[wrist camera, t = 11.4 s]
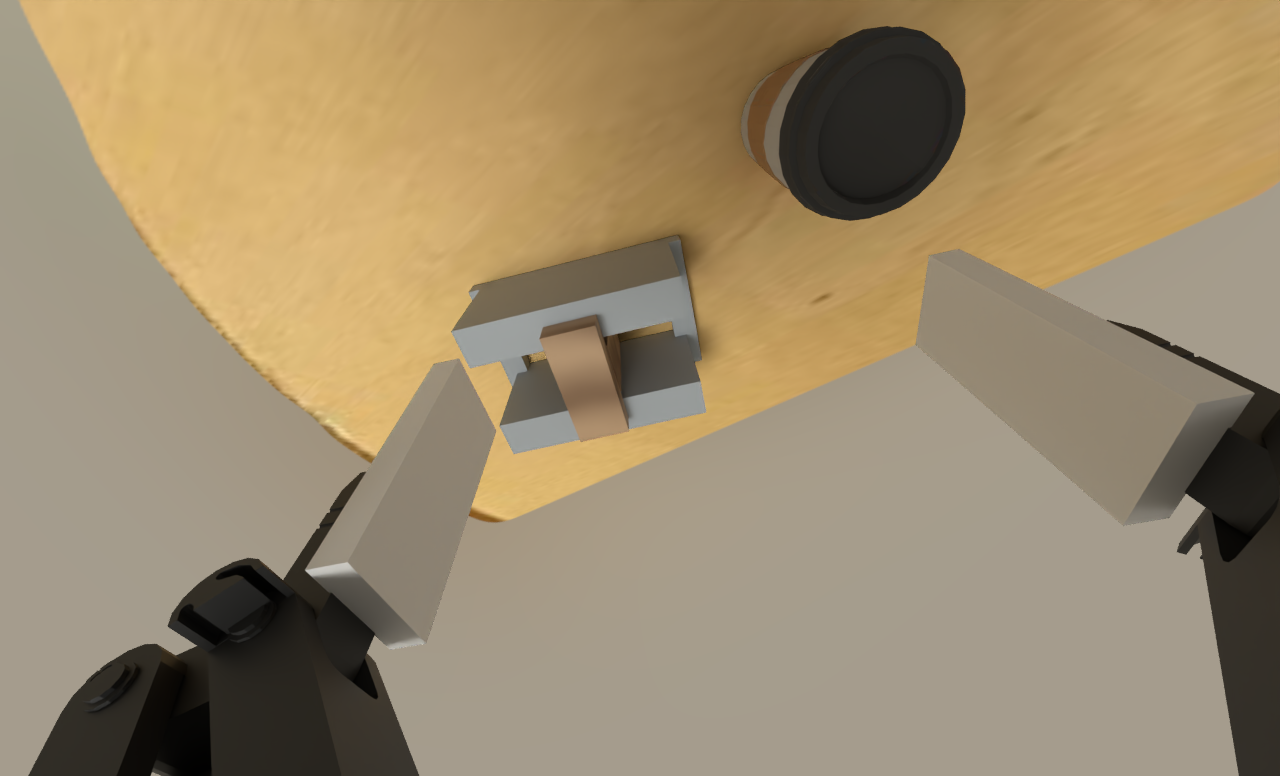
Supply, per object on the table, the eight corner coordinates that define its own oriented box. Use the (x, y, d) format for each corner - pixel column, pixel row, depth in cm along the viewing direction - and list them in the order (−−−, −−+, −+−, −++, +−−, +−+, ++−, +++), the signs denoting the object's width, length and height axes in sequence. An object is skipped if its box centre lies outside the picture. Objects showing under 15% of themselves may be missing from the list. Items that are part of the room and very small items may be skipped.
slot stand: (473, 286, 39) (437, 334, 31) (677, 234, 38) (695, 272, 30) (521, 392, 45) (502, 456, 37) (699, 352, 44) (718, 409, 36)
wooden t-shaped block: (554, 286, 38) (537, 339, 30) (600, 275, 38) (596, 325, 29) (585, 375, 43) (579, 442, 35) (626, 365, 42) (630, 431, 34)
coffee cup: (787, 202, 37) (878, 258, 24) (703, 142, 34) (756, 169, 21) (862, 97, 33) (1017, 98, 20) (775, 21, 30) (891, -32, 18)
